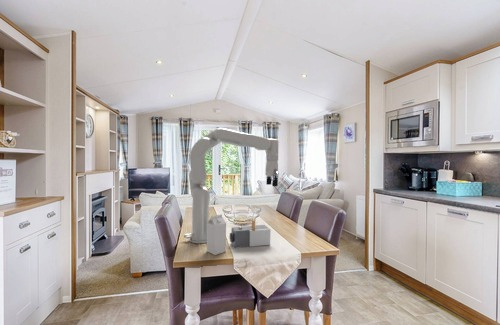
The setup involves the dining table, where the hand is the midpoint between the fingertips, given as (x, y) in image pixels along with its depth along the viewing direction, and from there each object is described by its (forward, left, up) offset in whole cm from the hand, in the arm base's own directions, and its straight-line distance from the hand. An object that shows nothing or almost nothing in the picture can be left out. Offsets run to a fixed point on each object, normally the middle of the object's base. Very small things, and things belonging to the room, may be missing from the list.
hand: (271, 185), depth 170 cm
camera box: (-19, -14, -31) cm, 39 cm away
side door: (-15, -19, -31) cm, 39 cm away
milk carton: (-40, -21, -31) cm, 55 cm away
